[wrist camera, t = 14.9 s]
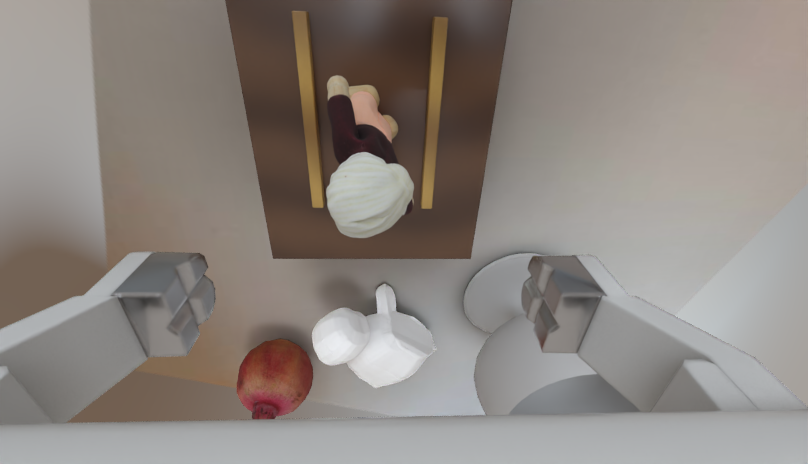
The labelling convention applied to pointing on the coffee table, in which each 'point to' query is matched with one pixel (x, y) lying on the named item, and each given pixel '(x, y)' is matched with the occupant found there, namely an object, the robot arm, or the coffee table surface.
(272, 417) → the fruit
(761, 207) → the coffee table surface
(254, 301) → the coffee table surface
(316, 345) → the white low-poly sculpture
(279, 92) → the box with brass rails
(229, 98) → the coffee table surface
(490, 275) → the chalice
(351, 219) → the grandmother figurine
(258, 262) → the coffee table surface
